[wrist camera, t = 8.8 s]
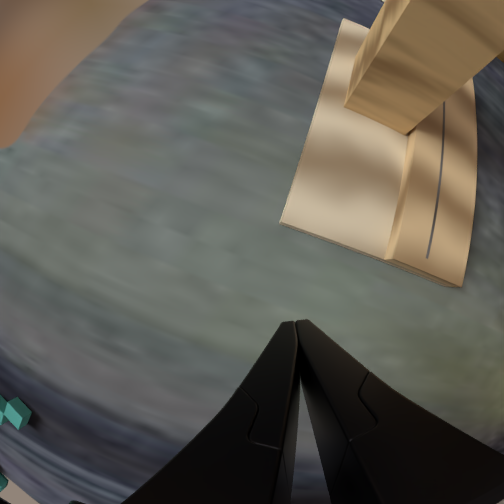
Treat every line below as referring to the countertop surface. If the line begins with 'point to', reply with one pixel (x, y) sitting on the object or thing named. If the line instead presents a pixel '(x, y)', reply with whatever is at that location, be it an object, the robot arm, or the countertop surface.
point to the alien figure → (12, 421)
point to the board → (388, 178)
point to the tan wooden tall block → (422, 57)
